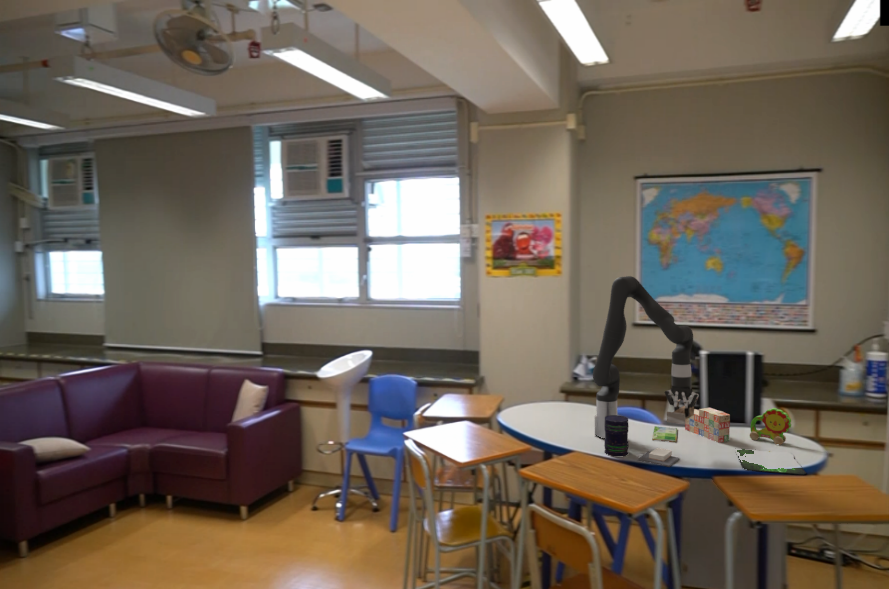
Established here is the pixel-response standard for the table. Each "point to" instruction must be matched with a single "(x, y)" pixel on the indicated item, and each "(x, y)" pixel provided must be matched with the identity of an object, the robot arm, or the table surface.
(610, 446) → the storage jar
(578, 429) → the table surface
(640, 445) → the table surface
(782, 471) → the mouse mat
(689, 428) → the stack of blocks
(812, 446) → the table surface
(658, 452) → the tile
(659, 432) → the green number board
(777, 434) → the toy lion
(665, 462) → the mat
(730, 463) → the table surface
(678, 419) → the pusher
